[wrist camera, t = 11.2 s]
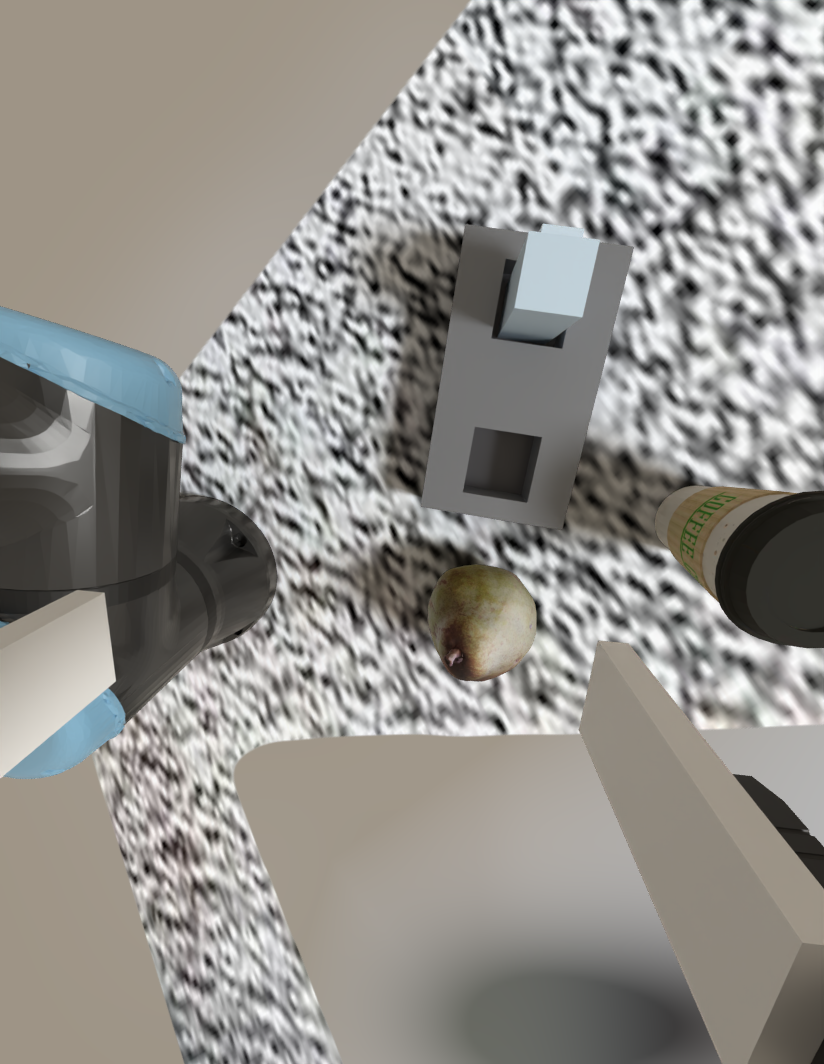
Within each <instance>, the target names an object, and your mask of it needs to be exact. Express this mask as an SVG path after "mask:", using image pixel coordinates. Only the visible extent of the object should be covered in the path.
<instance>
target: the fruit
mask: <svg viewBox="0 0 824 1064" xmlns="http://www.w3.org/2000/svg"><path fill="white" fill-rule="evenodd" d="M428 623H429V629H430V632H431V636H432V639H433V642H434V646H435V648H436V650H437V652H438V654H439V656H440V658H441V660H442V662H443V664H444V666H445V668H446V669H447V670H448V672H449V673H450V674H451V675H452V676H454V677H455V678H457V679H459V680H464V681H485V680H489V679H492V678H495V677H497V676H499V675H501V674H504V673H506V672H508V671H510V670H511V669H512V668H514V667H515V666H516V665H517V664H518V663H519V662H520V661H521V660H522V658H523V657H524V656H525V654H526V653H527V652H528V651H529V649H530V648H531V646H532V643H533V641H534V638H535V635H536V608H535V603H534V601H533V598H532V597H531V595H530V593H529V592H528V590H527V589H526V588H525V586H524V585H523V584H522V582H521V581H520V579H519V578H518V577H517V576H516V575H515V574H513V573H511V572H509V571H507V570H504V569H501V568H497V567H492V566H486V565H468V566H461V567H456V568H452V569H450V570H448V571H446V572H445V573H444V574H443V575H442V576H441V577H440V578H439V580H438V582H437V584H436V586H435V588H434V590H433V592H432V595H431V598H430V600H429V604H428Z"/></svg>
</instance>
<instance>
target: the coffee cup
mask: <svg viewBox="0 0 824 1064" xmlns="http://www.w3.org/2000/svg"><path fill="white" fill-rule="evenodd" d="M655 531H656V533H657V536H658V538H659V539H660V541H661V542H662V543H663V544H664V545H665V546H666V547H667V548H668V549H669V550H670V551H671V553H672V554H673V556H674V557H675V559H676V560H677V561H678V562H679V563H680V564H681V565H682V566H683V567H684V568H685V569H686V570H687V571H688V572H689V573H690V574H691V575H692V576H693V577H694V578H695V579H696V580H697V581H698V582H699V583H700V584H701V585H702V586H703V587H704V588H705V589H706V590H707V591H708V593H709V594H710V595H711V596H713V597H714V598H715V599H716V600H717V601H718V602H719V603H720V606H721V608H722V610H723V611H724V612H725V614H726V615H727V617H728V618H729V619H730V620H731V621H732V622H733V623H734V624H735V625H736V626H737V627H738V628H740V629H741V630H743V631H745V632H747V633H748V634H750V635H752V636H754V637H757V638H759V639H762V640H765V641H768V642H771V643H775V644H782V645H789V646H796V647H803V648H824V491H812V492H802V493H790V492H781V491H769V490H758V489H746V488H734V487H706V486H688V487H684V488H681V489H679V490H677V491H675V492H673V493H672V494H670V495H669V496H668V497H667V498H666V499H665V500H664V501H663V502H662V504H661V505H660V506H659V508H658V510H657V513H656V517H655Z"/></svg>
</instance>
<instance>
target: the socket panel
mask: <svg viewBox="0 0 824 1064" xmlns="http://www.w3.org/2000/svg"><path fill="white" fill-rule="evenodd" d="M527 234H528V233H526V232H519V231H511V230H504V229H496V228H489V227H481V226H474V225H466V224H465V229H464V236H463V242H462V248H461V254H460V261H459V267H458V273H457V280H456V286H455V292H454V299H453V305H452V311H451V318H450V324H449V330H448V337H447V343H446V349H445V356H444V362H443V368H442V375H441V381H440V387H439V394H438V400H437V406H436V413H435V419H434V425H433V432H432V438H431V444H430V451H429V457H428V463H427V470H426V476H425V482H424V489H423V495H422V501H421V507H426V508H432V509H438V510H444V511H450V512H456V513H462V514H468V515H474V516H480V517H486V518H492V519H498V520H504V521H510V522H516V523H522V524H528V525H534V526H540V527H546V528H552V529H558V530H562V528H563V524H564V520H565V516H566V512H567V508H568V505H569V501H570V497H571V493H572V489H573V485H574V481H575V477H576V473H577V469H578V465H579V461H580V457H581V453H582V449H583V446H584V442H585V438H586V434H587V430H588V426H589V422H590V418H591V414H592V410H593V406H594V402H595V398H596V394H597V390H598V387H599V383H600V379H601V375H602V371H603V367H604V363H605V359H606V355H607V351H608V347H609V343H610V339H611V335H612V331H613V328H614V324H615V320H616V316H617V312H618V308H619V304H620V300H621V296H622V292H623V288H624V284H625V280H626V276H627V272H628V268H629V265H630V261H631V257H632V253H633V249H634V247H632V246H624V245H616V244H609V243H601V242H600V243H599V247H598V252H597V256H596V260H595V265H594V269H593V273H592V278H591V282H590V286H589V291H588V295H587V299H586V304H585V308H584V313H583V317H582V318H581V319H579V320H578V321H577V322H575V323H574V324H573V325H571V326H570V327H569V328H567V329H566V330H564V331H563V332H562V333H560V334H559V335H558V336H556V337H555V338H554V339H552V340H551V341H549V342H548V343H547V344H538V343H531V342H524V341H517V340H510V339H503V338H497V336H498V331H499V325H500V320H501V315H502V309H503V304H504V298H505V293H506V287H507V283H508V281H509V278H510V276H511V273H512V271H513V269H514V266H515V264H516V261H517V259H518V256H519V254H520V252H521V249H522V247H523V244H524V242H525V239H526V237H527Z"/></svg>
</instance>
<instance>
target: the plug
mask: <svg viewBox="0 0 824 1064" xmlns="http://www.w3.org/2000/svg"><path fill="white" fill-rule="evenodd" d="M583 233H584V229H581V228H573V227H565V226H557V225H549V224H543V225H542V227H541V229H540V231H539V232H534V231H529V232H528V234H527V237H526V239H525V242H524V244H523V247H522V249H521V252H520V254H519V256H518V259H517V261H516V264H515V266H514V269H513V271H512V273H511V276H510V278H509V281H508V283H507V287H506V293H505V298H504V304H503V309H502V315H501V320H500V325H499V331H498V336H497V338H503V339H510V340H517V341H524V342H531V343H538V344H547V343H548V342H549V341H551V340H552V339H554V338H555V337H556V336H558V335H559V334H560V333H562V332H563V331H564V330H566V329H567V328H569V327H570V326H571V325H573V324H574V323H575V322H577V321H578V320H579V319H581V318H582V317H583V313H584V308H585V304H586V299H587V295H588V291H589V286H590V282H591V278H592V273H593V269H594V265H595V260H596V256H597V252H598V247H599V243H600V240H597V239H589V238H582V237H583Z"/></svg>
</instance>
